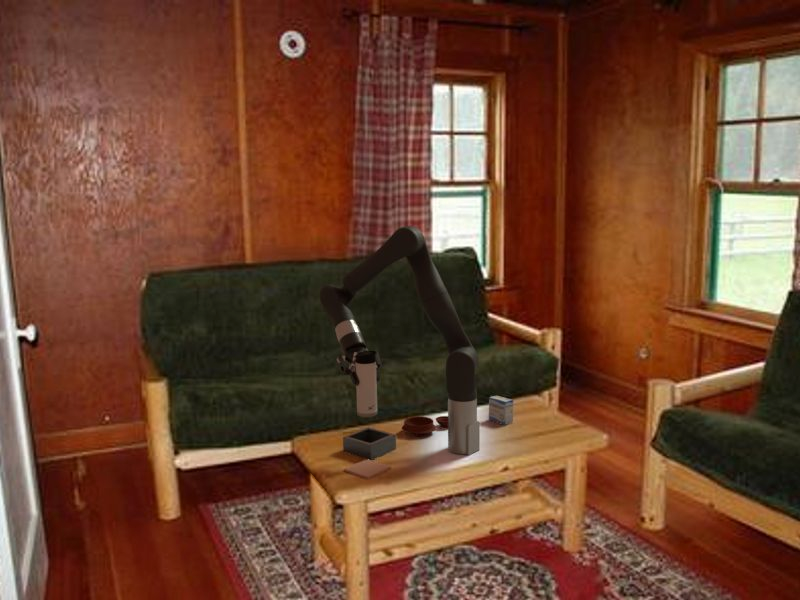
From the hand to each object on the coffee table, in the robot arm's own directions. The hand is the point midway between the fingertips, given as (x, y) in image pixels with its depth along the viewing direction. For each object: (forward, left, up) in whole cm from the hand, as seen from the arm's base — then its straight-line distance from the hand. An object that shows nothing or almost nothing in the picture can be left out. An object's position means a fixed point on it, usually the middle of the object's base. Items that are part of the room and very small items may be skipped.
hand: (367, 382), depth 220 cm
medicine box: (-13, -56, -25) cm, 63 cm away
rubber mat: (-5, +6, -25) cm, 26 cm away
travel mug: (+1, 0, -11) cm, 11 cm away
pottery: (+2, -33, -25) cm, 42 cm away
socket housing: (+5, -6, -25) cm, 26 cm away
